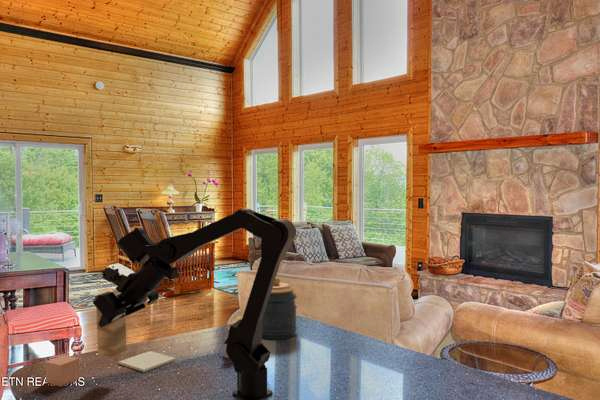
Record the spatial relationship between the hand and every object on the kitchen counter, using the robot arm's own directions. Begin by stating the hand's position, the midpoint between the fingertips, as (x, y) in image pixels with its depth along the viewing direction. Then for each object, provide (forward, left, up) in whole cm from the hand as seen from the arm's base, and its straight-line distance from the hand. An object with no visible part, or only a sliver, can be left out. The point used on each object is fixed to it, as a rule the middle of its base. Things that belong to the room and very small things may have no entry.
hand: (106, 322), depth 116 cm
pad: (+4, -12, -13) cm, 19 cm away
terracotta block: (+7, +8, -14) cm, 17 cm away
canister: (-2, -52, -14) cm, 54 cm away
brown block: (-1, -1, -7) cm, 7 cm away
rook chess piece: (-8, -30, -14) cm, 34 cm away
